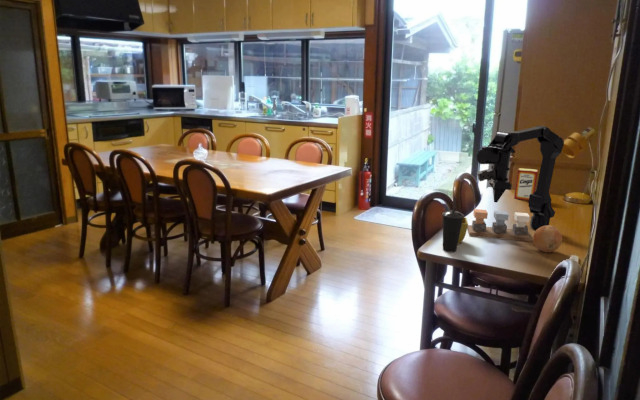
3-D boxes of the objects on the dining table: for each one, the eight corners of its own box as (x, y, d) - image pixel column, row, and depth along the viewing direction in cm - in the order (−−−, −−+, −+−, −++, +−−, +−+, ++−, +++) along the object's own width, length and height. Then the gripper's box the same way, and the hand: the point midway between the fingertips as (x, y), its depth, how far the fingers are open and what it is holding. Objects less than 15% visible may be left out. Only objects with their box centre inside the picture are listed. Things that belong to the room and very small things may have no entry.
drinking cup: (436, 246, 179) (441, 194, 174) (455, 246, 179) (461, 194, 174) (442, 253, 171) (448, 200, 166) (463, 253, 172) (469, 200, 167)
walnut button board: (526, 233, 197) (528, 223, 196) (532, 241, 188) (534, 230, 186) (466, 228, 201) (468, 218, 200) (469, 235, 192) (470, 225, 191)
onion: (551, 246, 182) (555, 221, 180) (565, 256, 173) (569, 230, 170) (526, 246, 182) (530, 221, 179) (539, 255, 172) (543, 229, 170)
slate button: (504, 224, 195) (506, 211, 194) (506, 227, 191) (508, 214, 189) (492, 223, 196) (494, 210, 195) (494, 226, 192) (496, 213, 190)
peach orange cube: (484, 222, 197) (486, 209, 195) (486, 225, 192) (487, 213, 191) (472, 221, 198) (474, 209, 196) (473, 224, 193) (475, 212, 192)
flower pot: (465, 246, 180) (468, 223, 177) (441, 244, 181) (444, 221, 179) (463, 239, 188) (466, 217, 186) (441, 236, 190) (443, 215, 187)
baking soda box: (514, 198, 256) (518, 169, 252) (514, 195, 261) (518, 167, 257) (533, 200, 252) (537, 171, 248) (533, 198, 258) (538, 169, 254)
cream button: (525, 225, 194) (527, 213, 192) (528, 229, 189) (530, 216, 188) (513, 224, 195) (514, 212, 193) (515, 228, 190) (517, 215, 189)
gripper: (476, 158, 197) (471, 195, 201) (483, 165, 180) (478, 205, 183) (504, 160, 196) (499, 197, 199) (514, 168, 178) (508, 208, 182)
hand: (495, 202), depth 191 cm, fingers closed
